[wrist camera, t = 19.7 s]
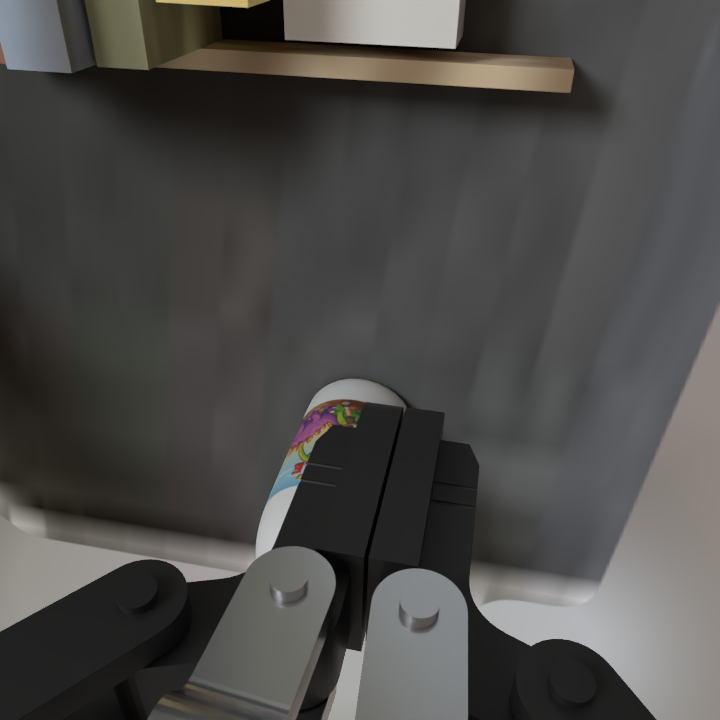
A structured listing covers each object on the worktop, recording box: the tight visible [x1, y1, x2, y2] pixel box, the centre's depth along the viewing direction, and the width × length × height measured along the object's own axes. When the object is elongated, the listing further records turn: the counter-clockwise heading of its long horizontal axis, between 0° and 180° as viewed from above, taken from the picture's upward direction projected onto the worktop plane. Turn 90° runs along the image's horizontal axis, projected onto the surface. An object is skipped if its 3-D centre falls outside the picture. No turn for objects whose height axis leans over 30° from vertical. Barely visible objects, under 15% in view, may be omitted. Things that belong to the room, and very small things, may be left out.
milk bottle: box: [256, 378, 407, 559], centre depth 40 cm, size 8×8×20 cm
